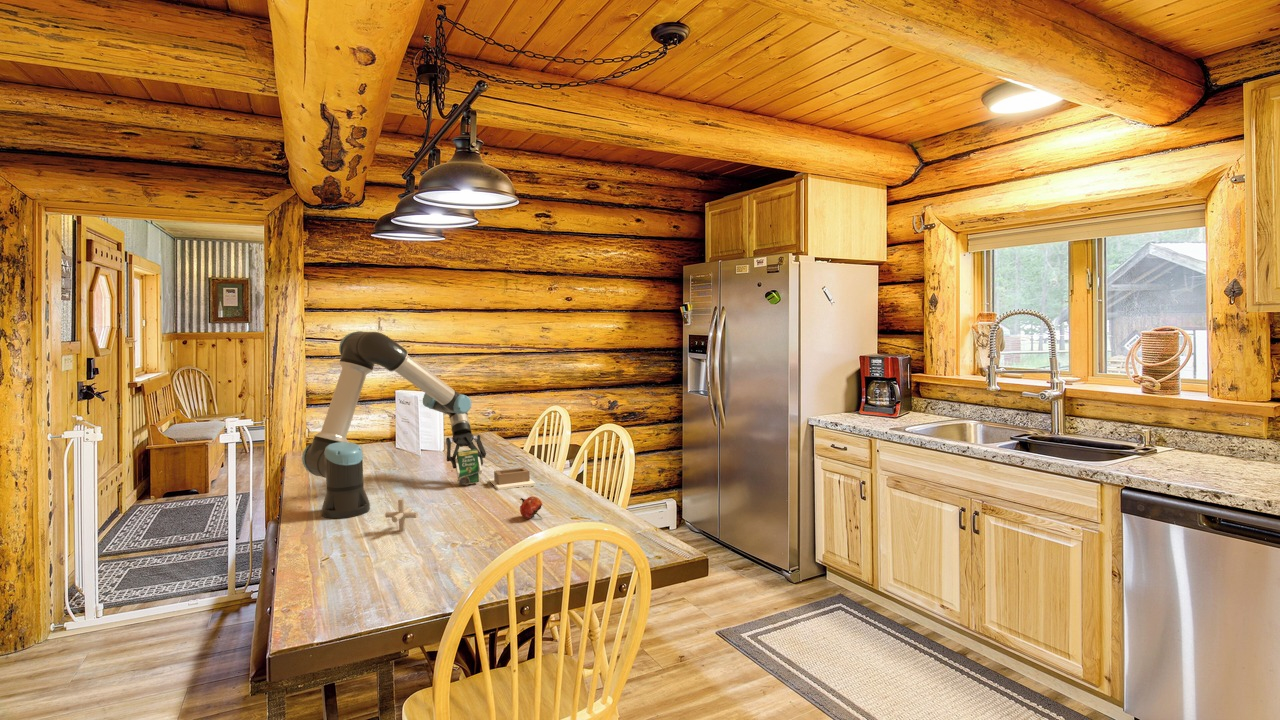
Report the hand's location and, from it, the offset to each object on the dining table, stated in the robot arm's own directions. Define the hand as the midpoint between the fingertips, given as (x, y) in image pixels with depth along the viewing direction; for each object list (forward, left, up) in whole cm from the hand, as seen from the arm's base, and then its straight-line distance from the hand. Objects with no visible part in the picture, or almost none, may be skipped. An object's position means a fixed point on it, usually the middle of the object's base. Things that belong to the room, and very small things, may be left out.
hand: (469, 473), depth 255 cm
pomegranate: (-50, -10, -6) cm, 51 cm away
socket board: (-3, -16, -5) cm, 17 cm away
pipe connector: (-43, +30, -6) cm, 52 cm away
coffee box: (+3, 0, -5) cm, 6 cm away
